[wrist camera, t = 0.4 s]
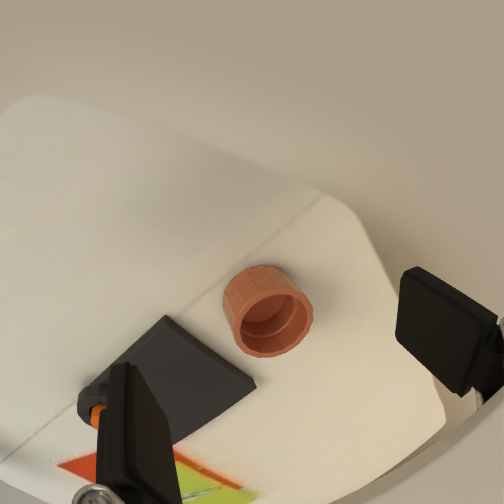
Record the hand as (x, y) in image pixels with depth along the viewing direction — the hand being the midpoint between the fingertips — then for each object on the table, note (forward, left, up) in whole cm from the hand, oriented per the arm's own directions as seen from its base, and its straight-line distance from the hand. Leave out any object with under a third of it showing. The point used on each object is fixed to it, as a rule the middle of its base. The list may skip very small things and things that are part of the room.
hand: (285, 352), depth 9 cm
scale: (+15, -8, -15) cm, 23 cm away
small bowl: (+7, +3, -15) cm, 17 cm away
